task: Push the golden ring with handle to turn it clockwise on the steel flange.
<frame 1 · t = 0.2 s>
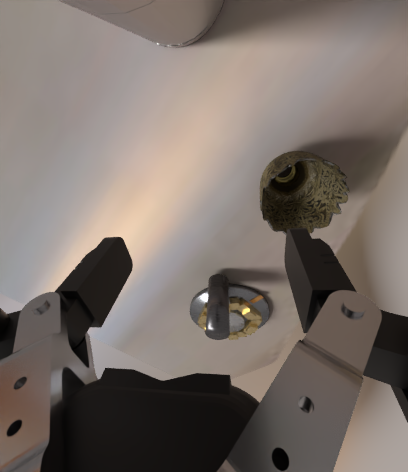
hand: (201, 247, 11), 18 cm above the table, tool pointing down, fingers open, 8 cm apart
golden ring with handle: (226, 329, 36), point 6 cm above the table, hinge at 0.0°
steel flange: (228, 310, 43), on the table
cup: (283, 169, 26), on the table
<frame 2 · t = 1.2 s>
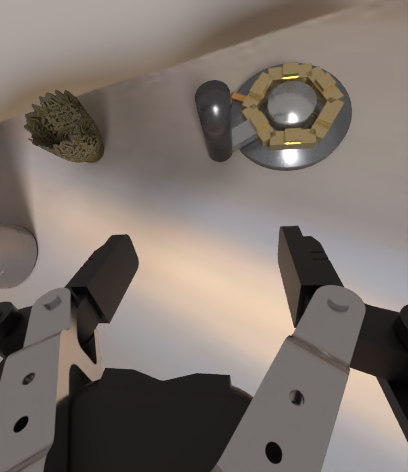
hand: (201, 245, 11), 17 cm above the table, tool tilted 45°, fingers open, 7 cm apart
golden ring with handle: (272, 95, 24), point 6 cm above the table, hinge at 0.0°
steel flange: (286, 118, 29), on the table
cup: (95, 154, 34), on the table
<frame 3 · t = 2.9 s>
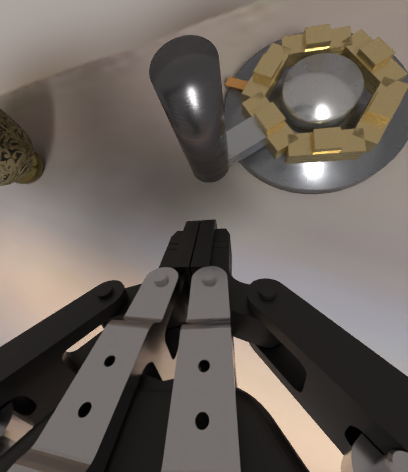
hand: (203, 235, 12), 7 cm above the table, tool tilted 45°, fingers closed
golden ring with handle: (295, 72, 14), point 6 cm above the table, hinge at 0.0°
steel flange: (310, 113, 19), on the table
cup: (33, 171, 24), on the table
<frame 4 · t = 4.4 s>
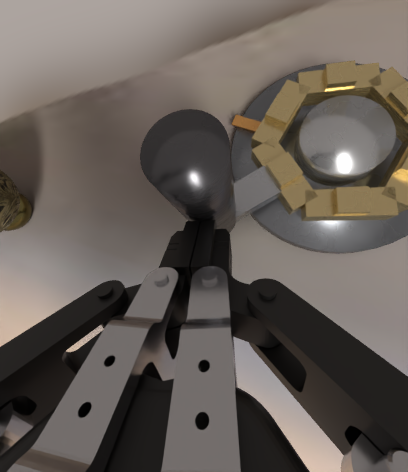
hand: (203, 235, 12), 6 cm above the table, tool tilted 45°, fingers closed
golden ring with handle: (318, 129, 12), point 6 cm above the table, hinge at -0.9°, touching gripper
steel flange: (328, 157, 17), on the table
cup: (21, 214, 21), on the table
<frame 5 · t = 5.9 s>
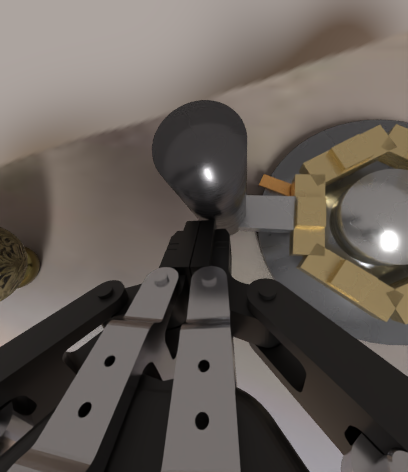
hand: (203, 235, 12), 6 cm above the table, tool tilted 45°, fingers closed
golden ring with handle: (361, 195, 10), point 6 cm above the table, hinge at -33.8°, touching gripper
steel flange: (367, 226, 15), on the table
cup: (28, 267, 20), on the table
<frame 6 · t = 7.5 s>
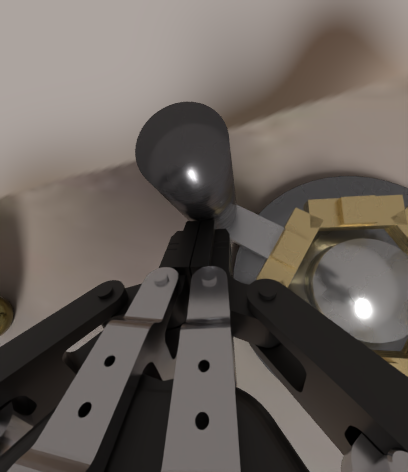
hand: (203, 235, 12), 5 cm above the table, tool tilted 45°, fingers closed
golden ring with handle: (333, 257, 10), point 6 cm above the table, hinge at -58.9°, touching gripper
steel flange: (344, 285, 15), on the table
cup: (2, 315, 20), on the table
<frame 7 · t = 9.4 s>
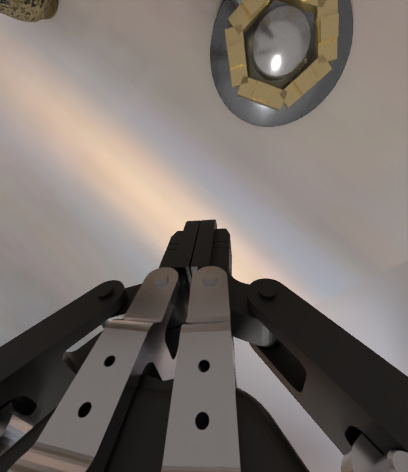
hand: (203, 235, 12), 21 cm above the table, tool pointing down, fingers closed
steel flange: (276, 53, 25), on the table
cup: (47, 3, 26), on the table
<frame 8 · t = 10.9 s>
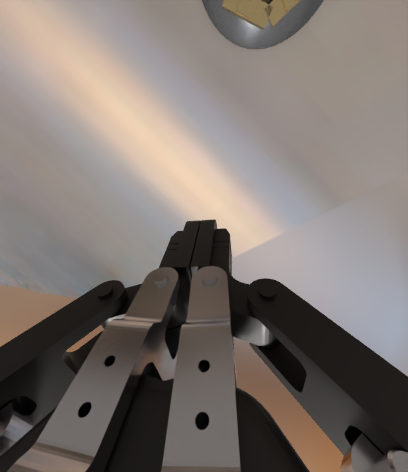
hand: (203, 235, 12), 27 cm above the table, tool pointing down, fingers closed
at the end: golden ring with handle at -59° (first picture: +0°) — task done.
